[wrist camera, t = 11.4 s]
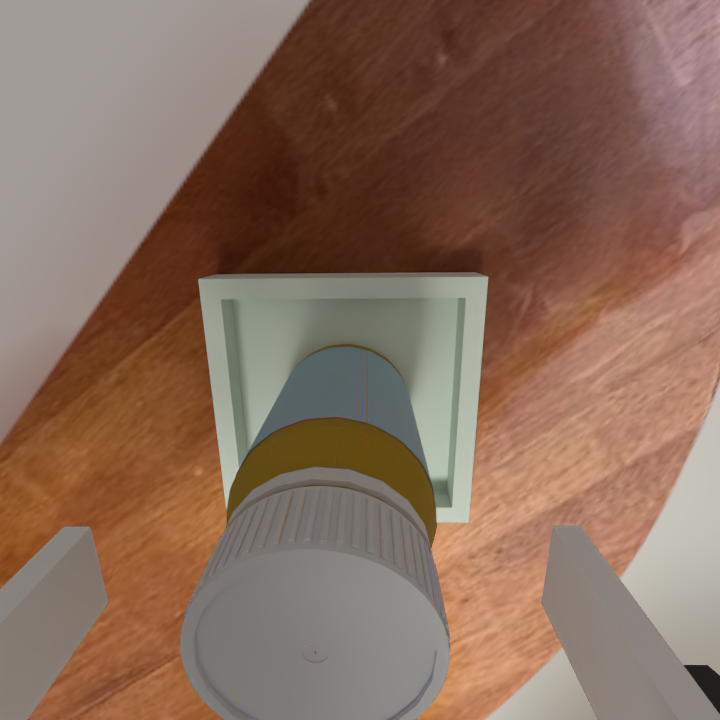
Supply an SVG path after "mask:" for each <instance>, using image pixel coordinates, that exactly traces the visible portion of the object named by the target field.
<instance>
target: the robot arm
mask: <svg viewBox="0 0 720 720" xmlns="http://www.w3.org/2000/svg"><path fill="white" fill-rule="evenodd" d="M108 603H109V602H108V598H107V594H106V589H105V585H104V581H103V577H102V573H101V568H100V564H99V560H98V556H97V552H96V547H95V543H94V539H93V535H92V531H91V527H63V528H62V529H61V530H60V531H59V532H58V533H57V534H56V535H55V536H54V537H53V538H52V539H51V540H50V541H49V542H48V543H47V544H46V545H45V546H44V547H43V548H42V549H41V550H40V551H39V552H38V553H37V554H36V555H35V556H34V557H33V558H32V559H31V560H30V561H29V562H27V563H26V564H25V565H24V566H23V567H22V568H21V569H20V570H19V571H18V572H17V573H16V574H15V575H14V576H13V577H12V578H11V579H10V580H9V581H8V582H7V583H6V584H5V585H4V586H3V587H2V588H1V589H0V720H28V719H29V717H30V716H31V714H32V713H33V711H34V710H35V708H36V707H37V706H38V704H39V703H40V701H41V700H42V698H43V697H44V695H45V694H46V693H47V691H48V690H49V688H50V687H51V685H52V684H53V682H54V681H55V680H56V678H57V677H58V675H59V674H60V672H61V671H62V669H63V668H64V667H65V665H66V664H67V662H68V661H69V659H70V658H71V656H72V655H73V653H74V652H75V651H76V649H77V648H78V646H79V645H80V643H81V642H82V640H83V639H84V638H85V636H86V635H87V633H88V632H89V630H90V629H91V627H92V626H93V625H94V623H95V622H96V620H97V619H98V617H99V616H100V614H101V613H102V612H103V610H104V609H105V607H106V606H107V604H108ZM542 605H543V607H544V609H545V611H546V613H547V615H548V618H549V620H550V622H551V624H552V626H553V628H554V630H555V632H556V634H557V636H558V638H559V640H560V643H561V645H562V647H563V649H564V651H565V653H566V655H567V657H568V659H569V661H570V663H571V665H572V668H573V669H574V672H575V673H576V676H577V678H578V680H579V682H580V684H581V686H582V688H583V690H584V693H585V694H586V697H587V699H588V701H589V703H590V705H591V707H592V709H593V711H594V713H595V715H596V717H597V720H720V676H719V675H718V674H717V673H716V672H715V671H714V670H712V669H711V668H710V667H709V666H708V665H683V664H682V663H681V661H680V660H679V659H678V657H677V656H676V655H675V653H674V652H673V650H672V649H671V648H670V647H669V645H668V644H667V642H666V641H665V640H664V638H663V637H662V636H661V634H660V633H659V632H658V630H657V629H656V627H655V626H654V625H653V624H652V622H651V621H650V620H649V618H648V617H647V615H646V614H645V613H644V611H643V610H642V609H641V607H640V606H639V605H638V603H637V602H636V600H635V599H634V598H633V596H632V595H631V594H630V592H629V591H628V590H627V588H626V587H625V586H624V584H623V583H622V582H621V580H620V579H619V577H618V576H617V575H616V573H615V572H614V571H613V569H612V568H611V567H610V565H609V564H608V563H607V561H606V560H605V559H604V557H603V556H602V554H601V553H600V552H599V550H598V549H597V548H596V546H595V545H594V544H593V542H592V541H591V540H590V538H589V537H588V536H587V534H586V533H585V531H584V530H583V529H582V527H581V526H553V530H552V537H551V544H550V550H549V557H548V563H547V570H546V577H545V583H544V590H543V596H542Z"/></svg>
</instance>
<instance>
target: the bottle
mask: <svg viewBox="0 0 720 720" xmlns="http://www.w3.org/2000/svg"><path fill="white" fill-rule="evenodd" d="M436 527H437V519H436V503H435V499H434V491H433V486H432V482H431V479H430V475H429V471H428V467H427V463H426V459H425V455H424V451H423V447H422V443H421V439H420V435H419V431H418V428H417V424H416V420H415V416H414V412H413V408H412V404H411V400H410V396H409V392H408V390H407V387H406V385H405V383H404V380H403V378H402V375H401V374H400V372H399V371H398V370H397V369H396V367H395V366H394V365H393V364H392V363H391V362H390V361H389V360H388V359H387V358H386V357H384V356H382V355H381V354H379V353H377V352H376V351H374V350H372V349H369V348H367V347H362V346H358V345H353V344H340V345H331V346H327V347H324V348H322V349H319V350H317V351H315V352H313V353H311V354H309V355H308V356H307V357H306V358H304V359H303V360H302V361H301V362H300V363H299V364H298V365H297V366H296V367H295V368H294V370H293V371H292V373H291V374H290V376H289V378H288V379H287V381H286V383H285V385H284V387H283V388H282V390H281V392H280V394H279V396H278V398H277V399H276V401H275V403H274V405H273V407H272V409H271V411H270V412H269V414H268V416H267V418H266V420H265V422H264V423H263V425H262V427H261V429H260V431H259V433H258V435H257V436H256V438H255V440H254V442H253V444H252V446H251V447H250V449H249V451H248V453H247V455H246V457H245V459H244V460H243V462H242V464H241V466H240V468H239V470H238V471H237V474H236V476H235V479H234V481H233V483H232V486H231V488H230V492H229V498H228V505H227V526H226V528H225V531H224V534H223V535H222V536H221V537H220V539H219V541H218V543H217V545H216V547H215V549H214V551H213V553H212V555H211V557H210V559H209V561H208V563H207V565H206V567H205V570H204V572H203V574H202V576H201V578H200V580H199V582H198V584H197V586H196V588H195V590H194V592H193V594H192V596H191V599H190V601H189V603H188V605H187V610H186V612H185V614H184V623H183V625H182V631H181V639H180V648H181V657H182V662H183V666H184V669H185V672H186V674H187V676H188V679H189V681H190V683H191V684H192V686H193V688H194V689H195V691H196V692H197V694H198V695H199V696H200V698H201V699H202V700H203V701H204V702H205V703H206V704H207V705H208V706H209V707H210V708H211V709H212V710H213V711H214V712H215V713H216V714H217V715H219V716H220V717H221V718H223V719H224V720H416V719H417V718H418V717H420V716H421V715H422V714H423V713H424V712H425V711H426V710H427V709H428V708H429V706H430V705H431V704H432V703H433V701H434V700H435V699H436V697H437V695H438V694H439V692H440V690H441V688H442V686H443V684H444V681H445V678H446V675H447V671H448V666H449V652H450V643H449V641H450V634H449V629H448V623H447V618H446V613H445V608H444V603H443V599H442V594H441V589H440V584H439V579H438V574H437V569H436V565H435V563H434V560H433V556H432V551H431V547H432V544H433V540H434V537H435V533H436Z"/></svg>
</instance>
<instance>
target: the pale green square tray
mask: <svg viewBox="0 0 720 720" xmlns="http://www.w3.org/2000/svg"><path fill="white" fill-rule="evenodd" d="M198 283H199V291H200V299H201V307H202V315H203V324H204V332H205V340H206V348H207V356H208V364H209V372H210V381H211V389H212V397H213V405H214V413H215V421H216V430H217V438H218V446H219V454H220V462H221V470H222V478H223V487H224V495H225V503H226V511H227V505H228V498H229V492H230V488H231V486H232V483H233V481H234V479H235V476H236V474H237V471H238V470H239V468H240V466H241V464H242V462H243V460H244V459H245V457H246V455H247V453H248V451H249V449H250V447H251V446H252V444H253V442H254V440H255V438H256V436H257V435H258V433H259V431H260V429H261V427H262V425H263V423H264V422H265V420H266V418H267V416H268V414H269V412H270V411H271V409H272V407H273V405H274V403H275V401H276V399H277V398H278V396H279V394H280V392H281V390H282V388H283V387H284V385H285V383H286V381H287V379H288V378H289V376H290V374H291V373H292V371H293V370H294V368H295V367H296V366H297V365H298V364H299V363H300V362H301V361H302V360H303V359H304V358H306V357H307V356H308V355H309V354H311V353H313V352H315V351H317V350H319V349H322V348H324V347H327V346H331V345H340V344H353V345H358V346H362V347H367V348H369V349H372V350H374V351H376V352H377V353H379V354H381V355H382V356H384V357H386V358H387V359H388V360H389V361H390V362H391V363H392V364H393V365H394V366H395V367H396V369H397V370H398V371H399V372H400V374H401V375H402V378H403V380H404V383H405V385H406V387H407V390H408V392H409V396H410V400H411V404H412V408H413V412H414V416H415V420H416V424H417V428H418V431H419V435H420V439H421V443H422V447H423V451H424V455H425V459H426V463H427V467H428V471H429V475H430V479H431V482H432V486H433V491H434V499H435V503H436V519H437V522H469V510H470V497H471V485H472V472H473V460H474V448H475V435H476V423H477V411H478V398H479V386H480V373H481V361H482V349H483V336H484V324H485V312H486V299H487V287H488V277H487V276H485V275H482V274H479V273H476V272H419V273H294V274H215V275H211V276H207V277H204V278H200V279H198Z"/></svg>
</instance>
